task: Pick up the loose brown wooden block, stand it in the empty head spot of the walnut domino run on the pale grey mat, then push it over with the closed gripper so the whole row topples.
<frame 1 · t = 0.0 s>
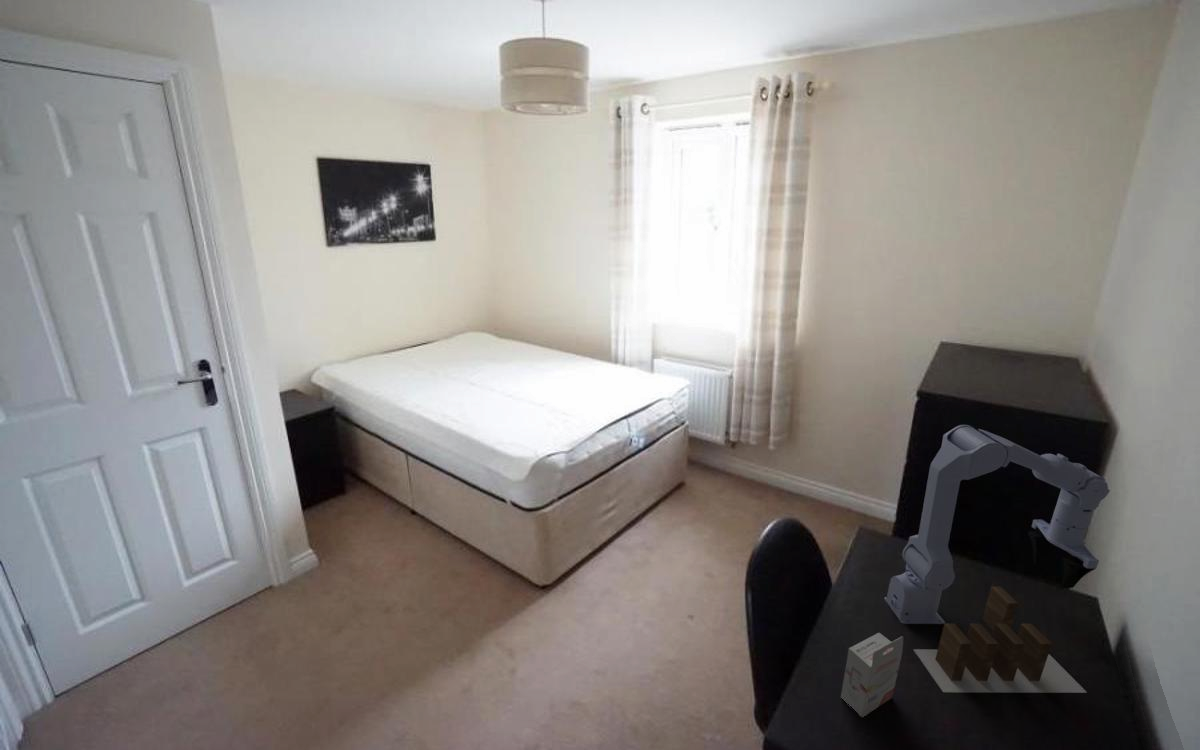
hand: (1052, 574, 116), 10 cm above the table, fingers open, 7 cm apart
domino 2: (1024, 670, 104), resting on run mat
ink cartridge box: (865, 699, 99), on the table
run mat: (995, 671, 104), on the table
brown wooden block: (994, 628, 115), on the table
domino 3: (998, 669, 104), resting on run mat
domino 5: (948, 669, 104), resting on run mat
domino 4: (973, 669, 104), resting on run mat
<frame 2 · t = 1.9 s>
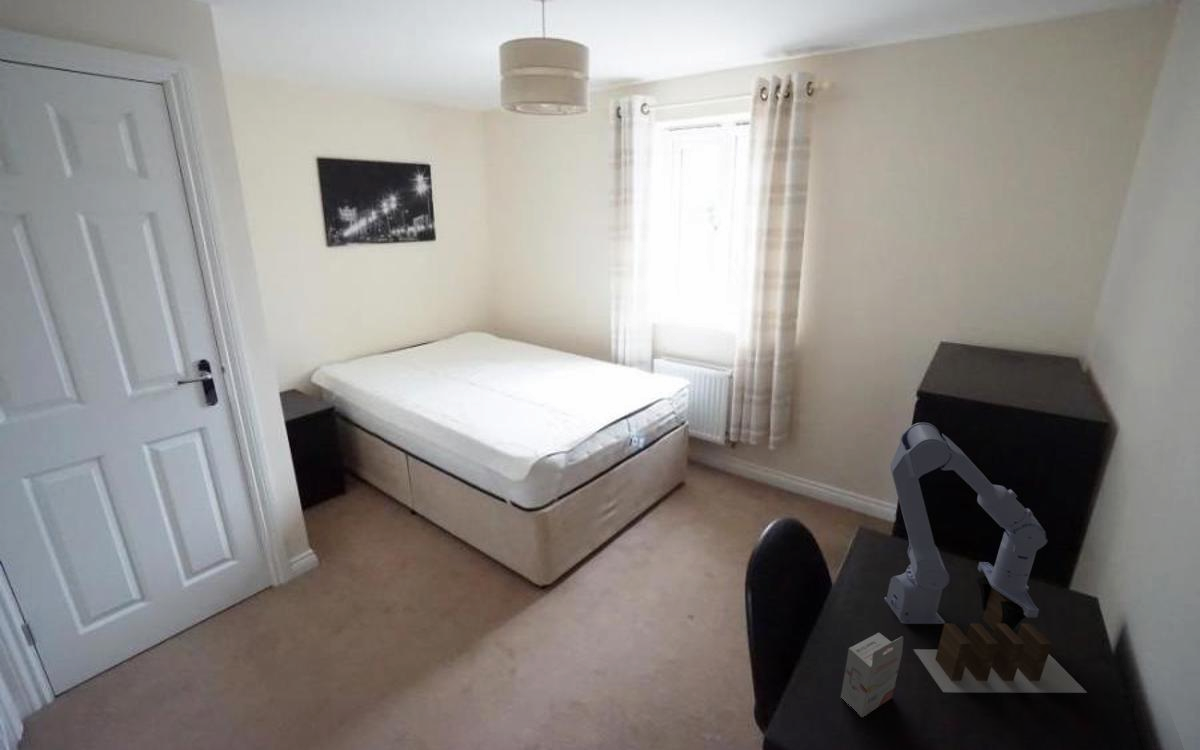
hand: (997, 619, 114), 2 cm above the table, fingers closed on brown wooden block, 5 cm apart
brown wooden block: (994, 628, 115), on the table, touching gripper
everything else where it was.
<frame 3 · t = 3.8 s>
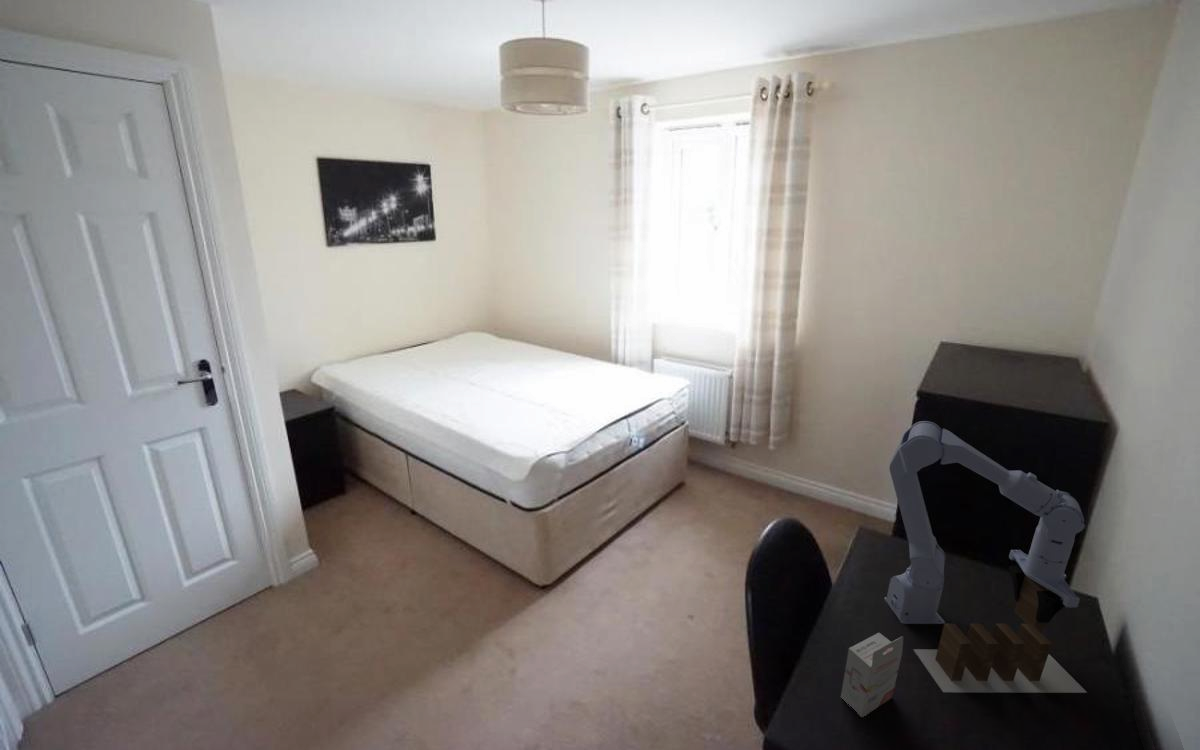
hand: (1031, 610, 107), 9 cm above the table, fingers closed on brown wooden block, 5 cm apart
brown wooden block: (1028, 620, 108), point 7 cm above the table, touching gripper
everything else where it was.
when the fingers open (4 cm above the table, at t = 5.9 s): brown wooden block stays where it is, resting on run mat.
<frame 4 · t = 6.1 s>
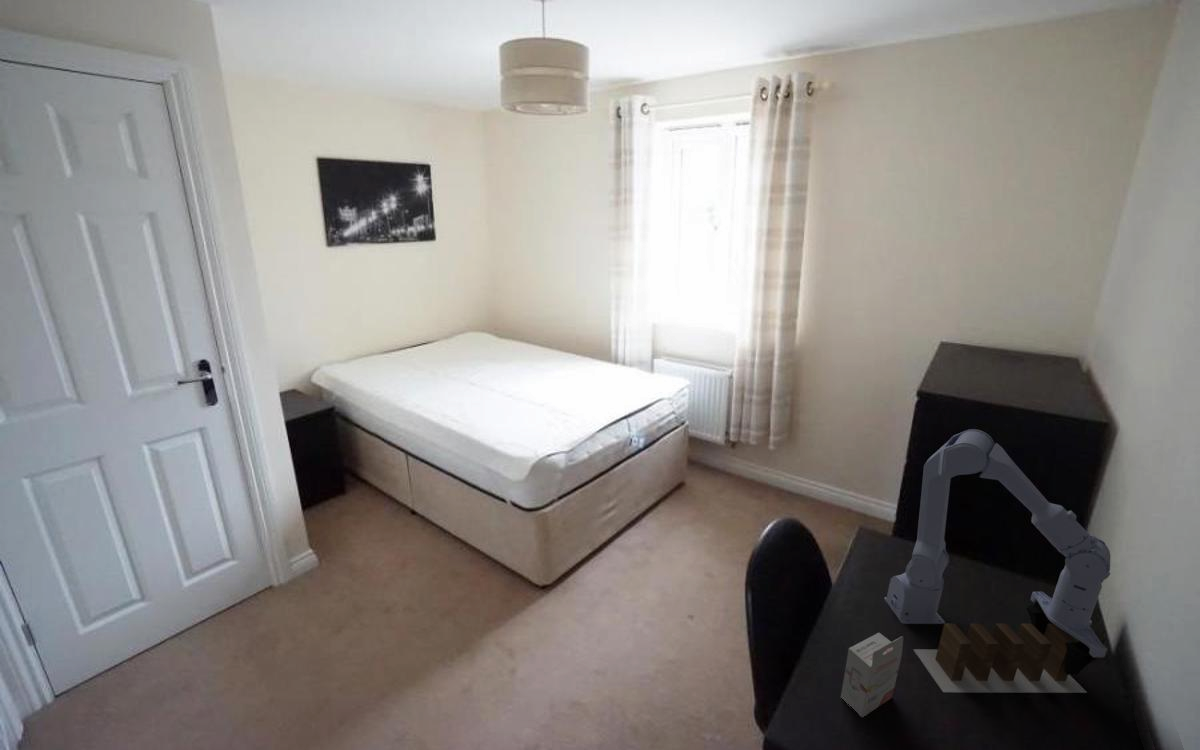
hand: (1054, 656, 103), 4 cm above the table, fingers open, 7 cm apart
brown wooden block: (1049, 670, 104), resting on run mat
everything else where it was.
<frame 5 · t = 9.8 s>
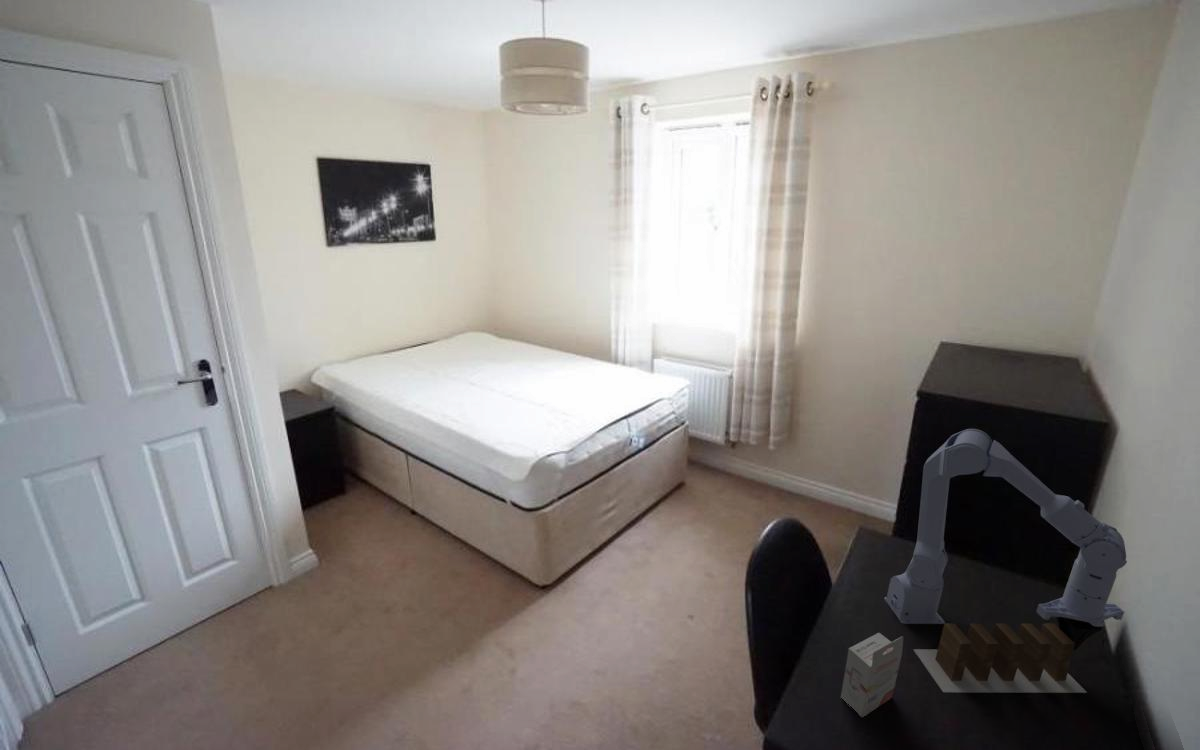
hand: (1067, 646, 102), 6 cm above the table, fingers closed
brown wooden block: (1050, 669, 104), resting on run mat, touching gripper
everything else where it was.
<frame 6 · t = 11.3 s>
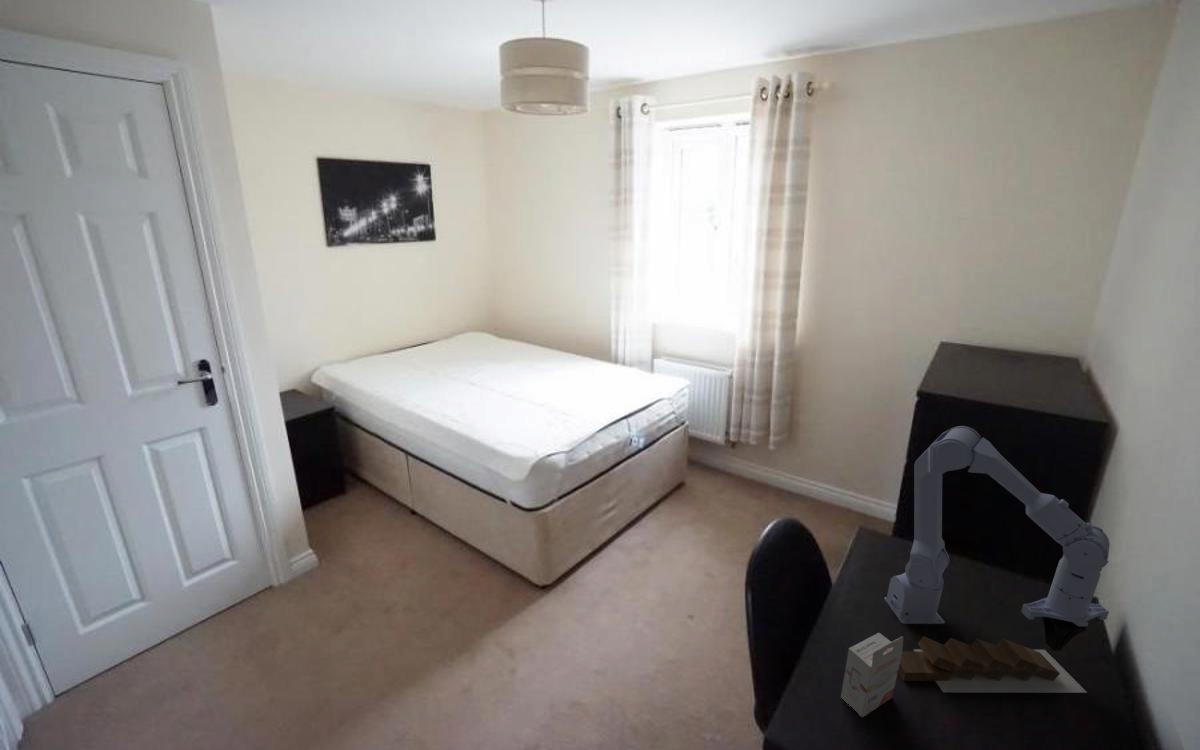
hand: (1052, 646, 102), 6 cm above the table, fingers closed
domino 2: (1020, 666, 104), point 1 cm above the table, tilted 67°, touching domino 3, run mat, brown wooden block
brown wooden block: (1046, 666, 104), point 1 cm above the table, tilted 67°, touching domino 2, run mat
domino 3: (993, 666, 104), point 1 cm above the table, tilted 66°, touching domino 2, domino 4, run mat
domino 5: (943, 665, 104), point 1 cm above the table, tilted 90°, touching domino 4, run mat
domino 4: (965, 665, 104), point 1 cm above the table, tilted 65°, touching domino 3, domino 5
everything else where it was.
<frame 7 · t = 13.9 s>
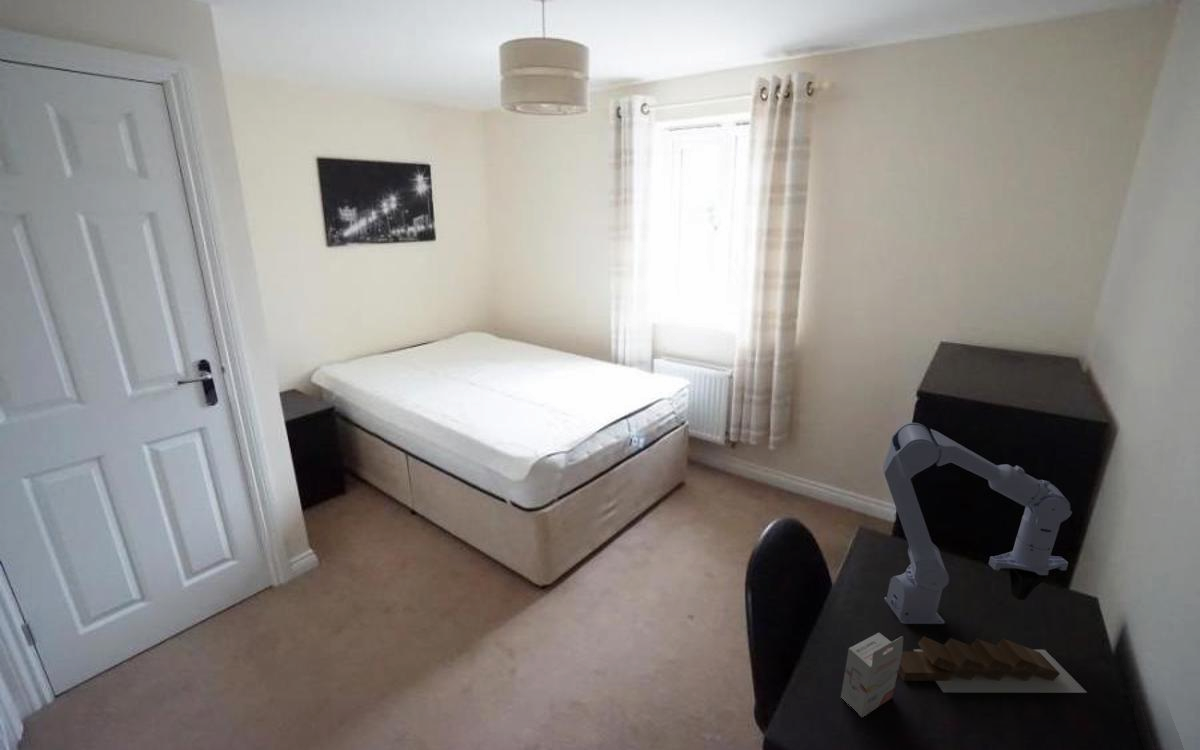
hand: (1017, 596, 111), 9 cm above the table, fingers closed
nothing on the table moved.
at the end: brown wooden block tilted 67°; domino 3 tilted 66°; domino 5 tilted 90° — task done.
